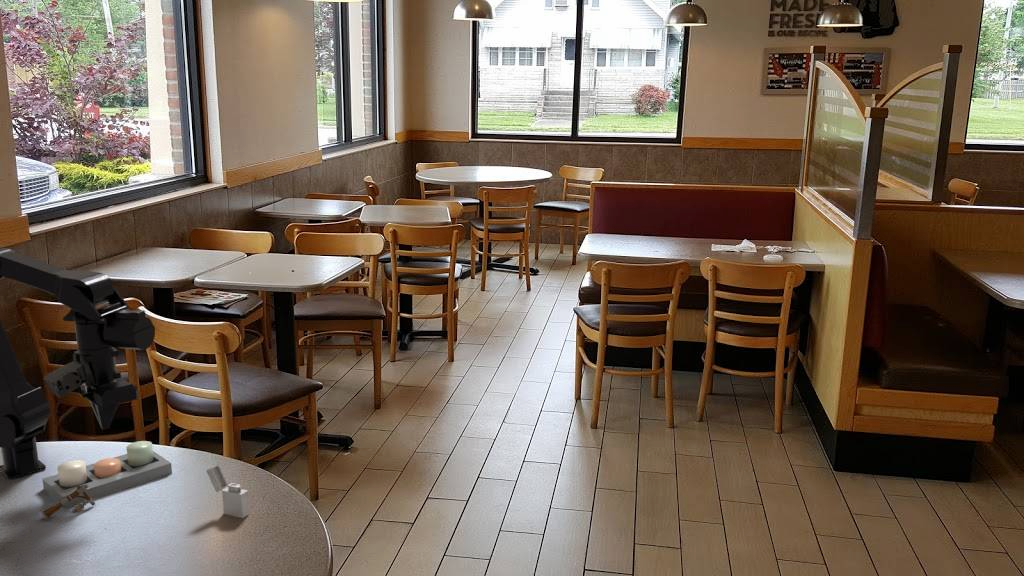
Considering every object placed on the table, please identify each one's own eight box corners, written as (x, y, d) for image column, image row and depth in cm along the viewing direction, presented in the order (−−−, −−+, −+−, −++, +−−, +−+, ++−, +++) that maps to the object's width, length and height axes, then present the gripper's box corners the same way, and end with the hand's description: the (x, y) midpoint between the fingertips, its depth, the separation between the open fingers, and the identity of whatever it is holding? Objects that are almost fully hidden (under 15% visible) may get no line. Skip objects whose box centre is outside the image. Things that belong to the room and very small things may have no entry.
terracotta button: (91, 478, 159) (89, 463, 158) (116, 471, 162) (114, 456, 161) (101, 486, 156) (99, 470, 155) (126, 478, 159) (124, 463, 158)
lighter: (249, 513, 147) (246, 469, 145) (243, 518, 146) (239, 474, 144) (216, 505, 150) (212, 462, 148) (209, 510, 148) (205, 466, 146)
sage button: (124, 460, 163) (122, 445, 162) (147, 453, 166) (145, 439, 165) (134, 467, 160) (132, 452, 159) (157, 460, 163) (156, 445, 162)
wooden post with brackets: (101, 502, 149) (86, 482, 147) (56, 532, 146) (41, 513, 144) (98, 498, 151) (84, 479, 149) (54, 528, 147) (38, 509, 145)
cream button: (55, 481, 154) (53, 465, 154) (81, 473, 157) (79, 458, 157) (64, 489, 151) (62, 473, 151) (91, 481, 154) (89, 465, 154)
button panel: (43, 488, 156) (42, 478, 155) (148, 457, 169) (147, 447, 169) (64, 507, 149) (62, 496, 149) (172, 472, 162) (171, 463, 162)
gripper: (28, 344, 154) (39, 426, 158) (66, 367, 141) (77, 457, 145) (93, 331, 162) (102, 410, 166) (135, 352, 149) (144, 438, 153)
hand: (105, 428), depth 157 cm, fingers closed
